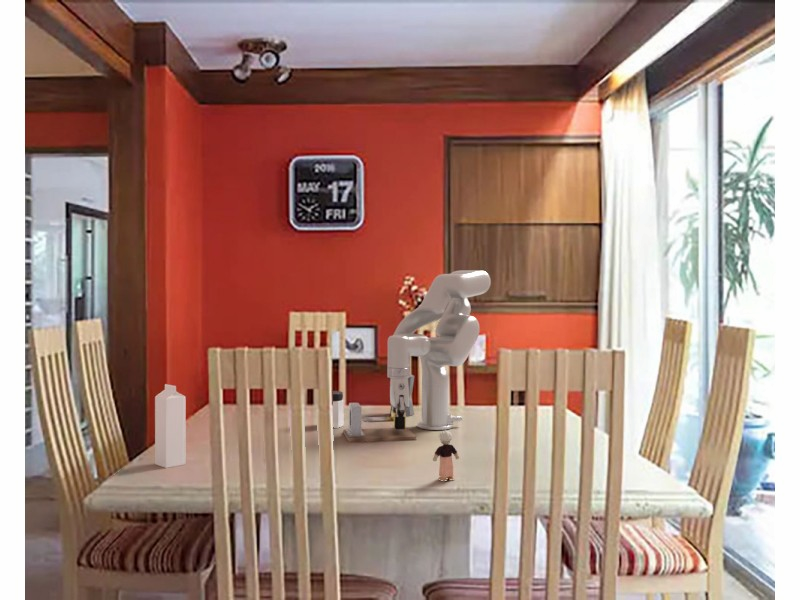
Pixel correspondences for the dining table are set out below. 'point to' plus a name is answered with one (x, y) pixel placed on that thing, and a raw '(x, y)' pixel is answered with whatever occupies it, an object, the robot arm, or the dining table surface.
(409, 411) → the coffeepot
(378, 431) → the copper board
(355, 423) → the brushed steel socket base
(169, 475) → the dining table surface
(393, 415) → the yellow block headed rod
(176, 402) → the milk
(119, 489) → the dining table surface
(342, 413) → the jar
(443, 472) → the grandmother figurine
